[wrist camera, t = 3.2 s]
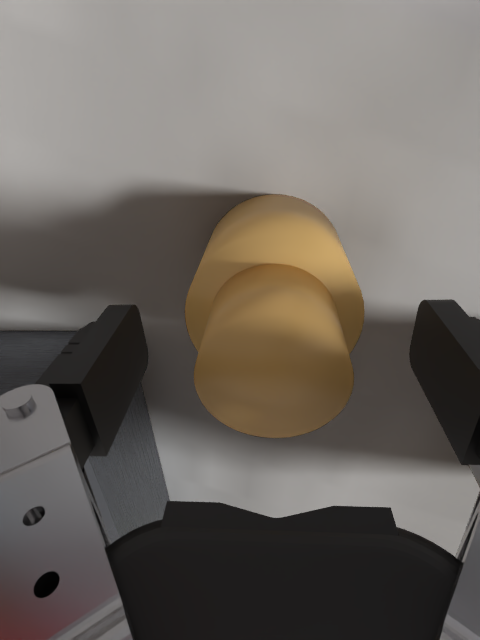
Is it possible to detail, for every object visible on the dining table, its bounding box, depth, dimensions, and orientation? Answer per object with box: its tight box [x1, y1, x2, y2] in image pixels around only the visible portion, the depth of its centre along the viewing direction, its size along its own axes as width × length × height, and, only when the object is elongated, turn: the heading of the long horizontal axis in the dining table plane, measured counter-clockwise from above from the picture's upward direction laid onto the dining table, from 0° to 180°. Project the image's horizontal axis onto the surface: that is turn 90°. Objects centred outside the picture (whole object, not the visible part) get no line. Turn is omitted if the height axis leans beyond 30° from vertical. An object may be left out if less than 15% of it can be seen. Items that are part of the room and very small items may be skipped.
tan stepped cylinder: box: [185, 194, 364, 438], centre depth 11 cm, size 5×5×6 cm
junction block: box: [0, 331, 170, 543], centre depth 18 cm, size 16×13×6 cm
